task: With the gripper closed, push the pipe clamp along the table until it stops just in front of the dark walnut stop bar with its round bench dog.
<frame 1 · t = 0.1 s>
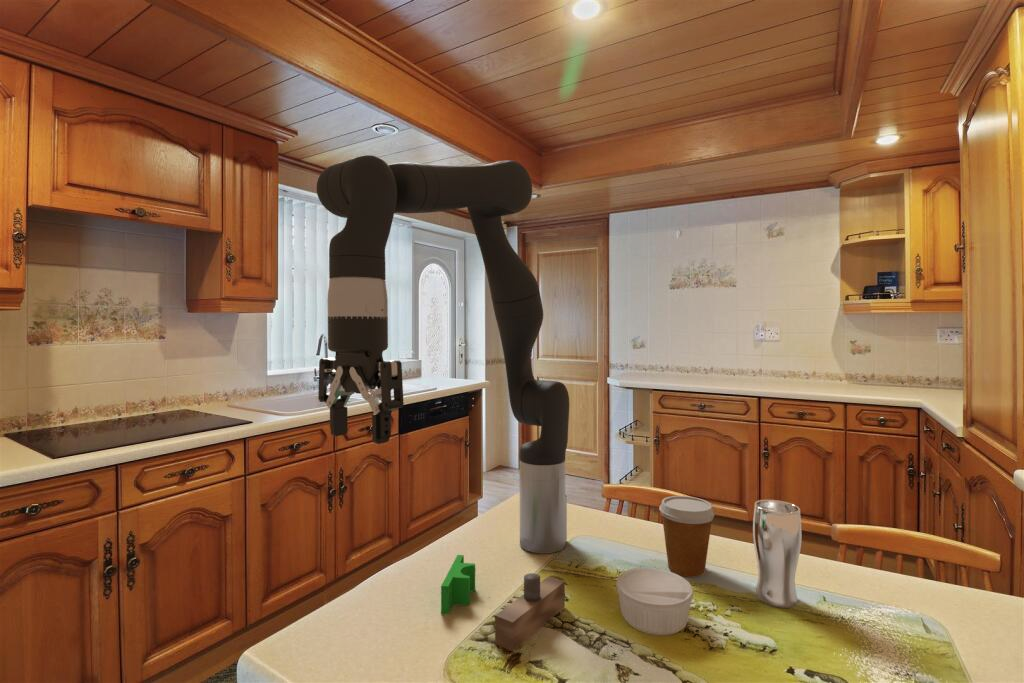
hand: (359, 438, 68), 29 cm above the table, tool pointing down, fingers open, 8 cm apart
beer glass: (776, 599, 84), on the table
pipe clamp: (460, 598, 85), on the table
ramekin: (653, 620, 78), on the table
stop bar: (532, 624, 76), on the table
disposable coffee cup: (686, 570, 94), on the table
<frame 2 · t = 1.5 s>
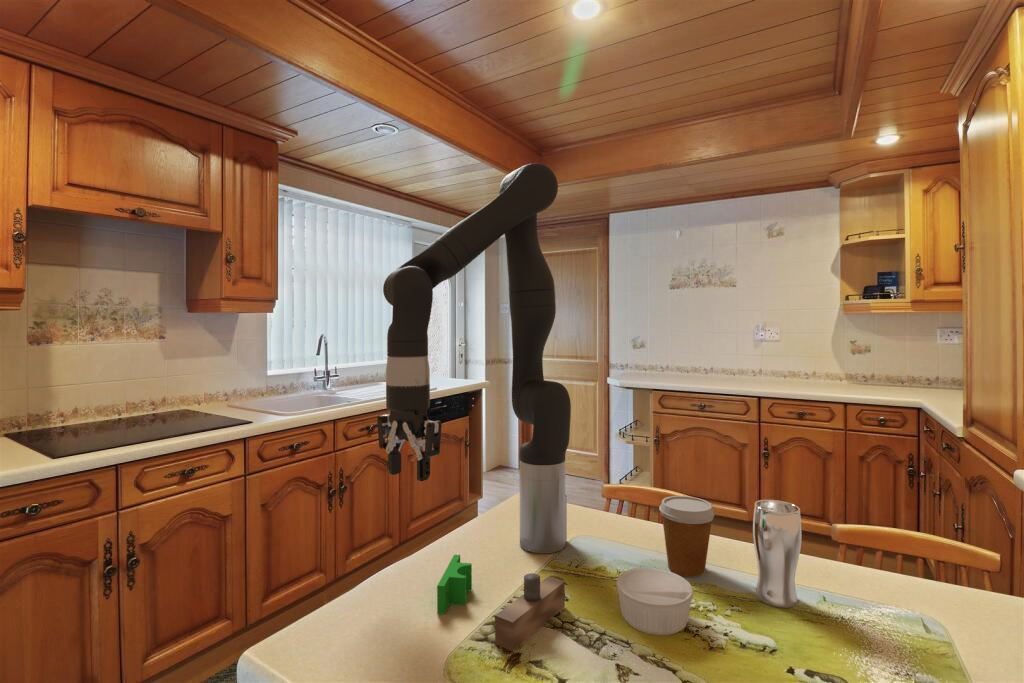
hand: (408, 476, 91), 18 cm above the table, tool pointing down, fingers open, 6 cm apart
nothing on the table moved.
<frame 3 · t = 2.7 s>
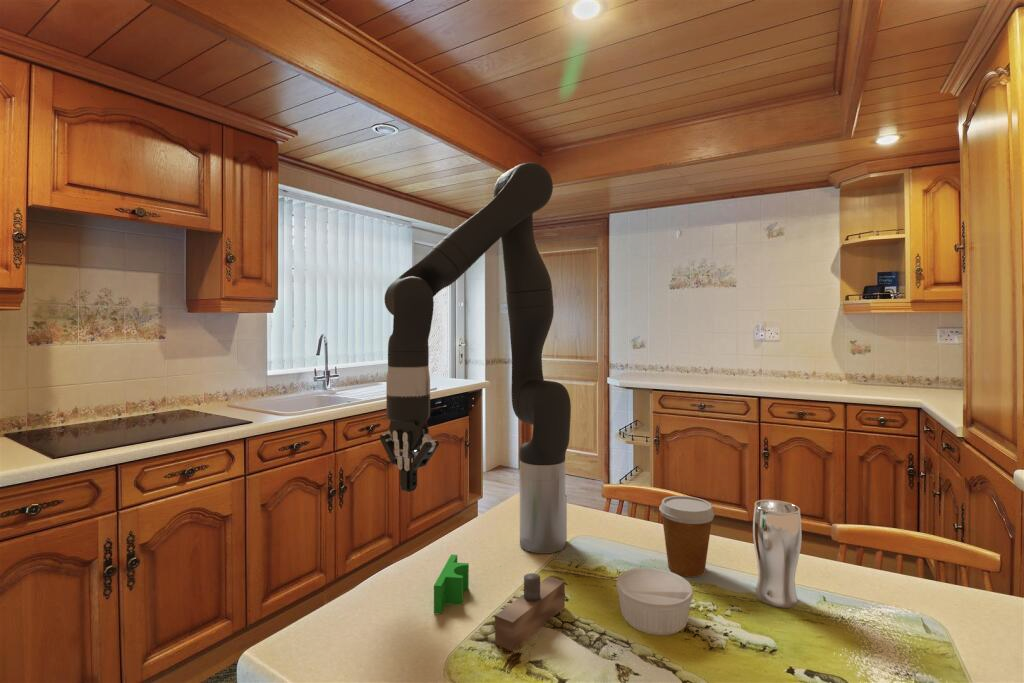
hand: (408, 490, 91), 15 cm above the table, tool pointing down, fingers closed
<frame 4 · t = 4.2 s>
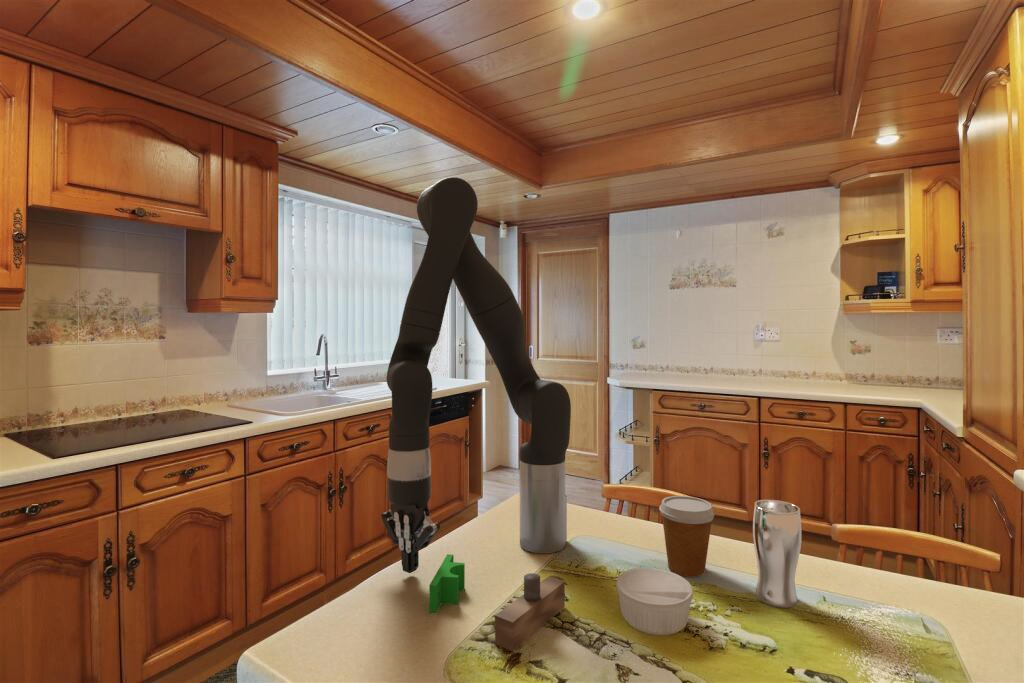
hand: (409, 570, 91), 1 cm above the table, tool pointing down, fingers closed
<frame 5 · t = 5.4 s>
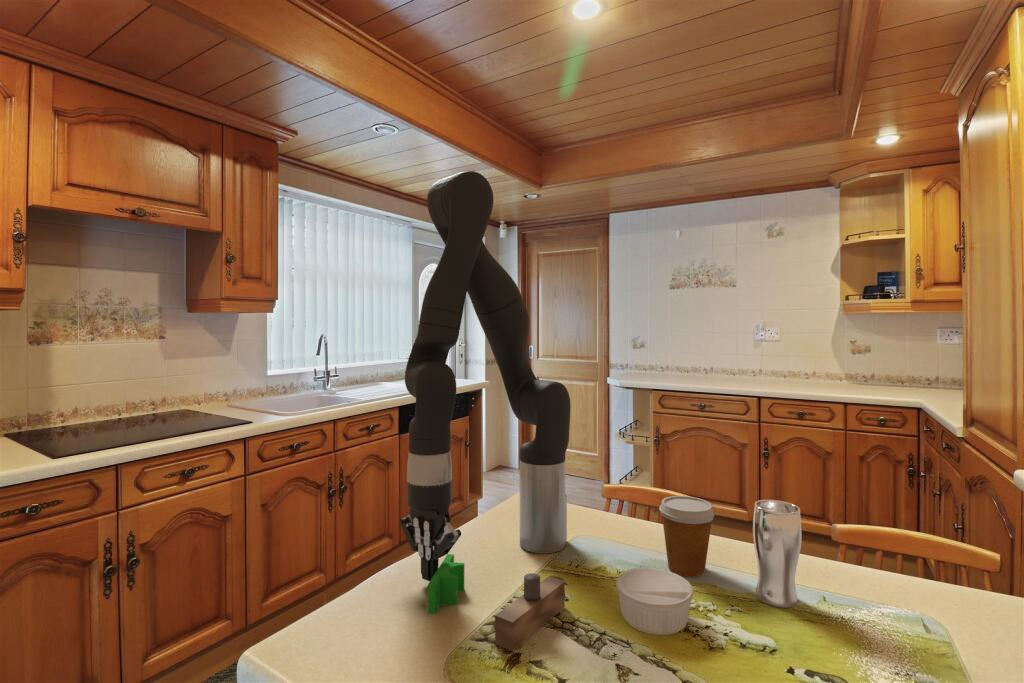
hand: (429, 578, 88), 1 cm above the table, tool pointing down, fingers closed
pipe clamp: (448, 597, 85), on the table, touching gripper
everything else where it was.
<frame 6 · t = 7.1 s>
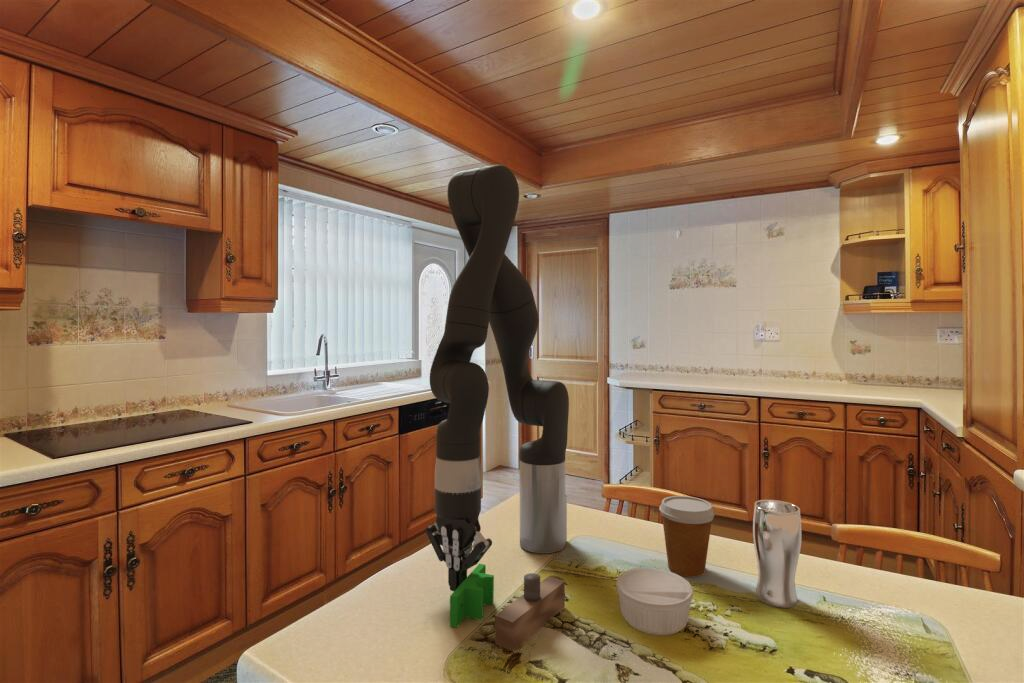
hand: (457, 589, 84), 1 cm above the table, tool pointing down, fingers closed
pipe clamp: (475, 610, 81), on the table, touching gripper
everything else where it was.
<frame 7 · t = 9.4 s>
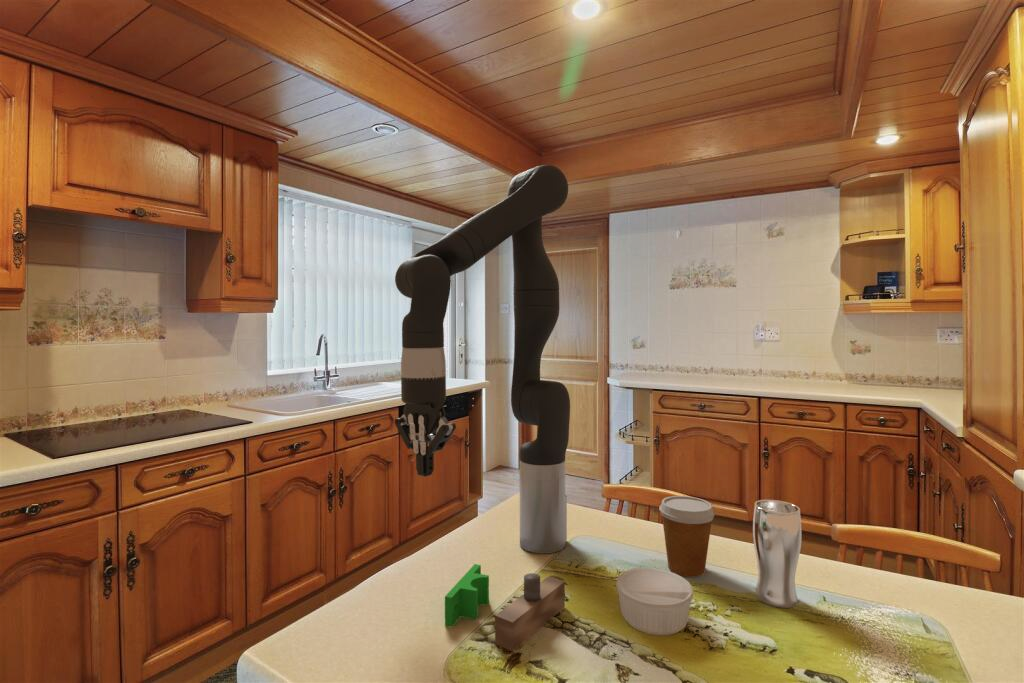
hand: (424, 474, 89), 19 cm above the table, tool pointing down, fingers closed
pipe clamp: (470, 610, 81), on the table
everything else where it was.
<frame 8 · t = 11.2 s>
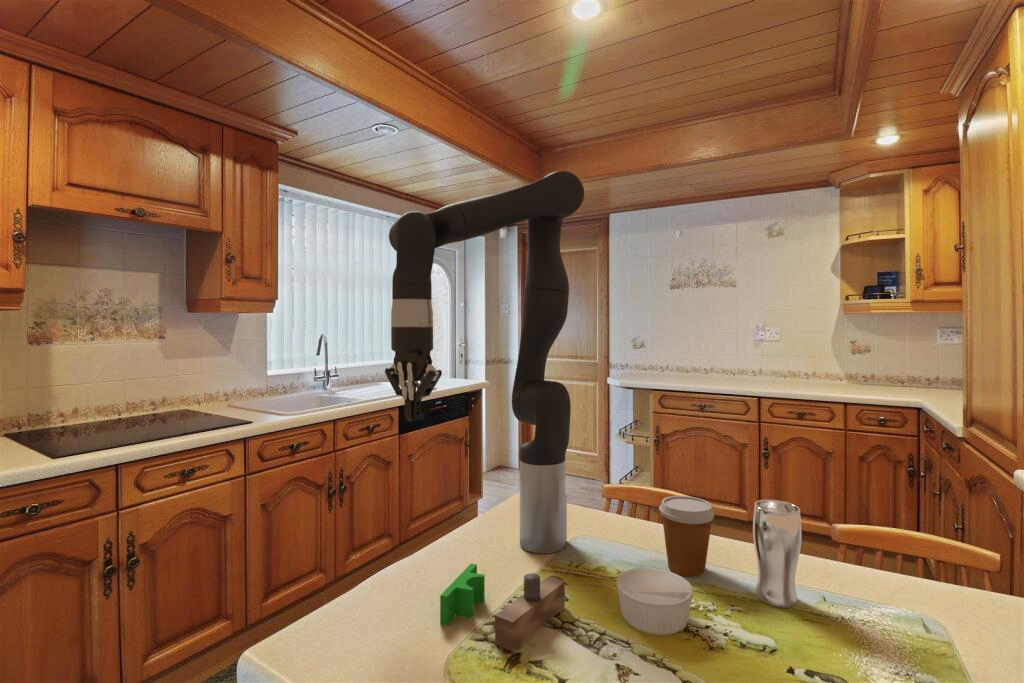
hand: (412, 420, 95), 27 cm above the table, tool pointing down, fingers closed
nothing on the table moved.
at the end: pipe clamp inside the target area (3.7 cm from its centre), on the table; pipe clamp moved 3.6 cm from its start; the gripper is holding nothing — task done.
